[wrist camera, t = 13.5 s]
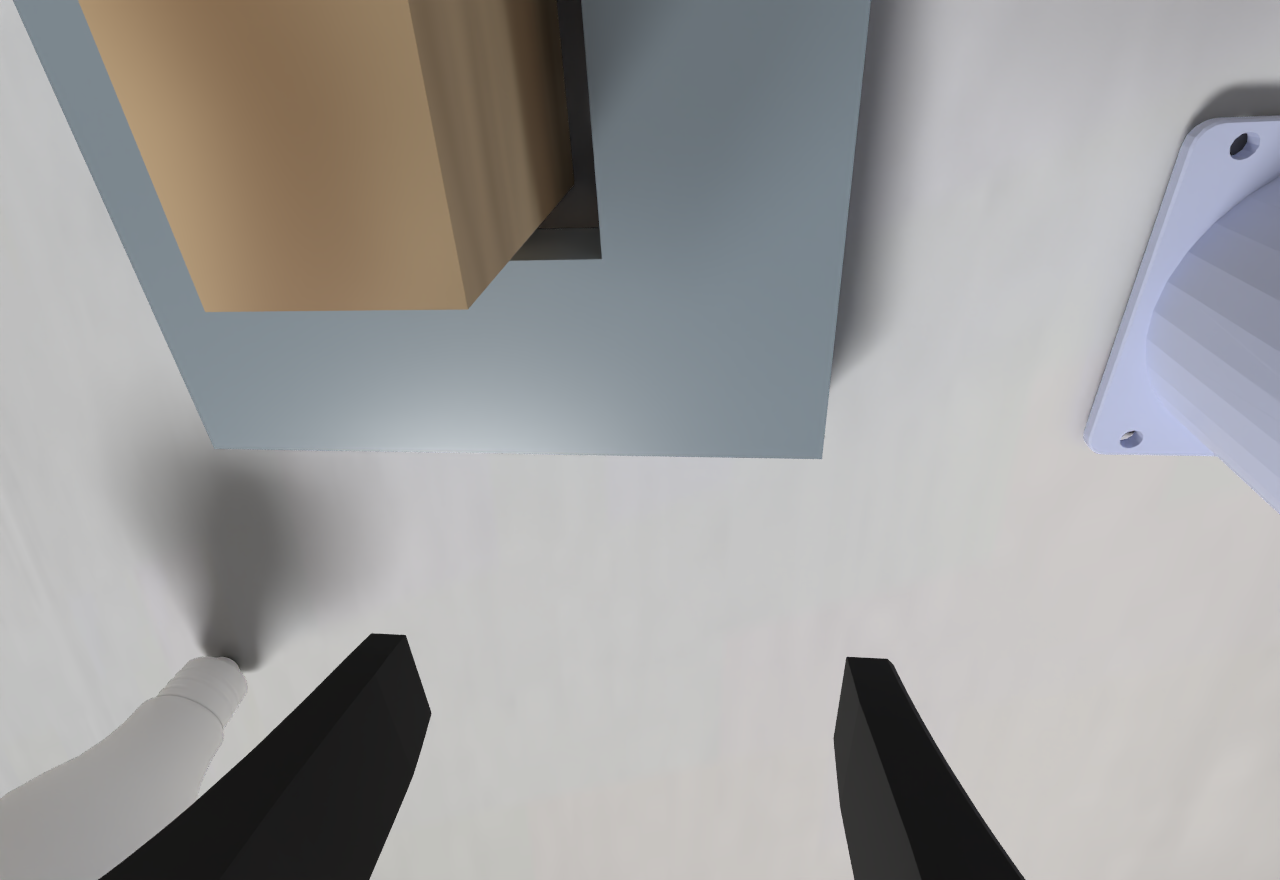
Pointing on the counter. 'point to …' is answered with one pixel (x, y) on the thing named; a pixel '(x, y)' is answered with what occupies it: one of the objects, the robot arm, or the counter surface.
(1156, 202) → the counter surface
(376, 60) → the peg
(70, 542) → the counter surface
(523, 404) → the socket block
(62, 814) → the lightbulb
